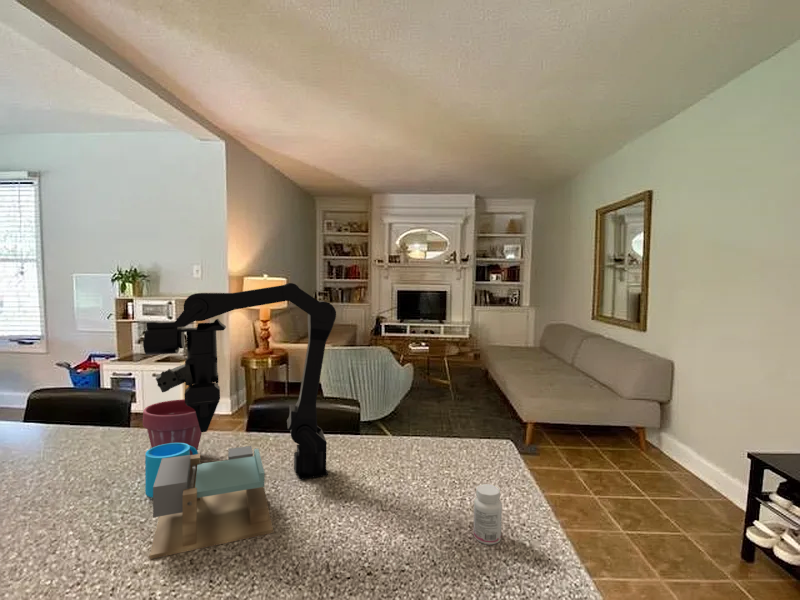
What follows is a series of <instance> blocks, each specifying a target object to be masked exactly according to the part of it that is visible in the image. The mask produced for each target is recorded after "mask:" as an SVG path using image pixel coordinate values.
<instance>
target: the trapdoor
mask: <svg viewBox="0 0 800 600" xmlns="http://www.w3.org/2000/svg"><path fill="white" fill-rule="evenodd" d="M265 474H266V473H265V469H264V466H263V462H262V458H261V454H260V449H259V448H254V449H253V456H252V457H245V458H238V459H231V460H228V459H225V460H219V461H217V460H216V461H210V462H203V463H200V464H197V473H196V483H195V488H197V498H200V497H206V496H212V495H218V494H224V493H230V492H236V491H242V490H247V489H253V488H259V487H265ZM190 479H191V455H186V456H178V457H170V458H163V459H162V460H161V463H160V467H159V470H158V473H157V476H156V480H155V483H154V486H153V498H152V518H159V516H165V515H170V514H176V513H182V512H183V490H185V489H189V486H190Z"/></svg>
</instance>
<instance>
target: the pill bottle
mask: <svg viewBox="0 0 800 600" xmlns="http://www.w3.org/2000/svg"><path fill="white" fill-rule="evenodd" d="M475 495H476V497H474V500H473V537H474V539H476V540H477V541H478V542H479V543H481V544H484V545H490V546H492V545H496V544H498V543H499V542H500V541H501V539H502V516H503V515H502V513H503V511H502V510H503V504H502V501H501V492H500V489H499V488H498V487H497V486H496V485H493V484H490V483H489V484H488V483H482V484H479V485H477V486H476V491H475Z"/></svg>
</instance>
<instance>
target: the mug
mask: <svg viewBox="0 0 800 600" xmlns="http://www.w3.org/2000/svg"><path fill="white" fill-rule="evenodd" d="M190 450H191V451H192V454H193V455H196V454H199V452H198V451H199V450H196V448H195V447H193V446H189V445H188V444H185V443H168V444H162V445H158V446H156V447H153V448H151V447H150V448H149V449H147V451H145V458H144V459H145V460H144V461H145V462H144V463H145V469H144V473H145V476H144V478H145V481H144V482H145V484H144V485H145V488H144V489H145V490H144V492H145V493H144V494H145V495H146V496H147V497H149V498H150V499H151V498H152V499H153V486H154V483H155V480H156V476H157V473H158V470H159V467H160V463H161V460H162V459H163V458H170V457H178V456H186V455H190Z"/></svg>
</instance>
